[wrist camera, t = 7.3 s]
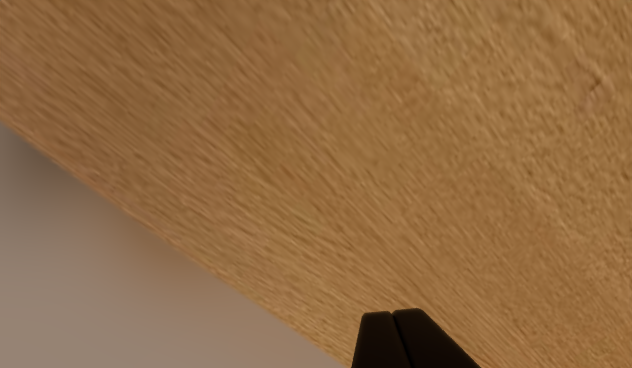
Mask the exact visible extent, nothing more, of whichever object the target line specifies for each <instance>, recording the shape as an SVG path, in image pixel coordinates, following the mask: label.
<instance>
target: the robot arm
mask: <svg viewBox="0 0 632 368" xmlns="http://www.w3.org/2000/svg"><path fill="white" fill-rule="evenodd" d="M351 368H481V367H480V366H479V365H478V364H477V363H476V362H475V361H474V360H473V359H472V358H471V357H470V356H469V355H468V354H467V353H466V352H465V351H464V350H463V349H462V348H461V347H460V346H459V345H458V344H457V343H456V342H455V341H454V340H453V339H452V338H451V337H450V336H449V335H447V334H446V333H445V332H444V331H443V330H442V329H441V328H440V327H439V326H438V325H437V324H436V323H435V322H434V321H433V320H432V319H431V318H430V317H429V316H428V315H427V314H426V313H425V312H424V311H423V310H421V309H419V308H413V309H402V310H395V311H394V312H393V313H392V314H391V313H390V312H389V311H381V312H370V313H365V314H363V316H362V319H361V323H360V328H359V333H358V338H357V343H356V347H355V352H354V357H353V362H352V367H351Z"/></svg>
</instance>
